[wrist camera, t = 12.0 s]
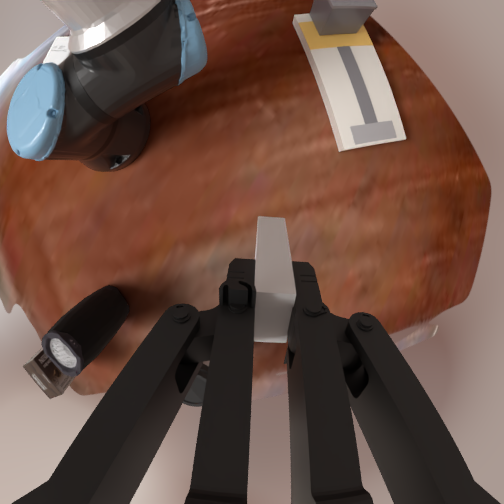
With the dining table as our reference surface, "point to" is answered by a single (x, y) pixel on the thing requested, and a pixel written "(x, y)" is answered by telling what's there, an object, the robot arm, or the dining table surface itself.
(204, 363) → the coffee cup
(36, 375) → the coffee box
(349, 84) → the switch panel
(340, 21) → the switch tab
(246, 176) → the dining table surface
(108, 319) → the portable speaker
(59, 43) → the external hard drive
